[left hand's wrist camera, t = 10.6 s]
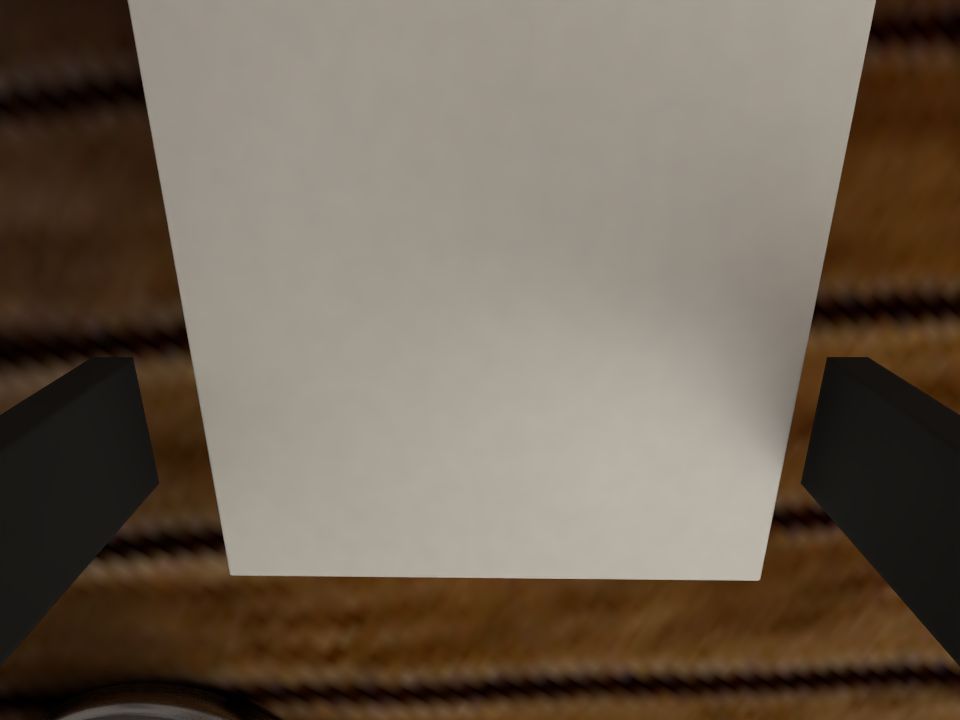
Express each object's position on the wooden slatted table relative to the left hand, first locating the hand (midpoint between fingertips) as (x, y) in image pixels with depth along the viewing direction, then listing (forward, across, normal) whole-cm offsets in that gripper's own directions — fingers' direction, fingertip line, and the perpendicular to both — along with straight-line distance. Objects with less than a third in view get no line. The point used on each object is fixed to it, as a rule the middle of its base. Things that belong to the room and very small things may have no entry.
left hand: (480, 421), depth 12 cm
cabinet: (+10, 0, -7) cm, 12 cm away
